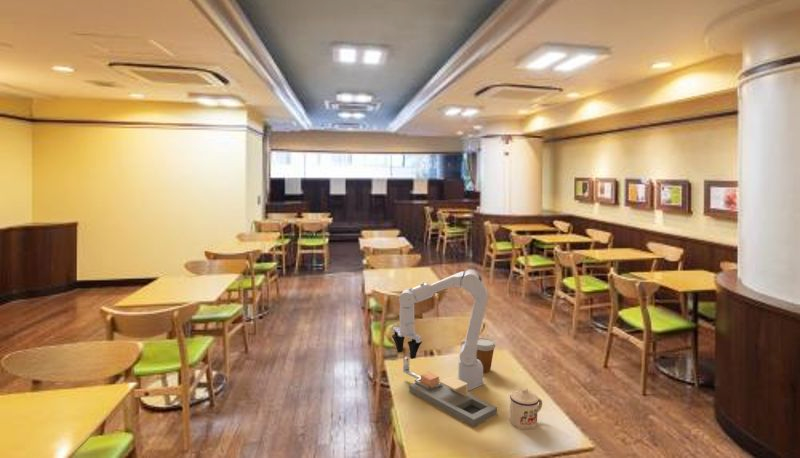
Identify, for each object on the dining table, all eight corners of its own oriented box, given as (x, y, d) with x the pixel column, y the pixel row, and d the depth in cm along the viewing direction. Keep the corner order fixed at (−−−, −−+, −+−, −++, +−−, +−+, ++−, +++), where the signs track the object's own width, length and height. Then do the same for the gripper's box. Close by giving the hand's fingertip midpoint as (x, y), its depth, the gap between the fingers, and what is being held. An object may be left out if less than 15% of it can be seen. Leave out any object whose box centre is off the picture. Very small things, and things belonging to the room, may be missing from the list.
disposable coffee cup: (494, 375, 190) (495, 347, 189) (470, 373, 192) (471, 344, 191) (494, 366, 200) (495, 338, 198) (471, 363, 202) (472, 336, 200)
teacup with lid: (521, 432, 150) (523, 398, 149) (503, 418, 158) (504, 385, 157) (550, 424, 155) (552, 390, 154) (531, 411, 163) (533, 379, 162)
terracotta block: (420, 384, 177) (420, 375, 176) (429, 380, 180) (429, 371, 179) (430, 389, 173) (430, 379, 173) (438, 385, 176) (438, 376, 176)
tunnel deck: (409, 391, 176) (409, 373, 175) (432, 382, 184) (432, 364, 183) (473, 426, 153) (474, 406, 152) (497, 414, 161) (497, 394, 160)
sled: (398, 373, 185) (398, 358, 184) (410, 369, 189) (410, 354, 188) (430, 390, 172) (430, 374, 171) (442, 385, 176) (442, 369, 175)
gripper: (386, 318, 186) (386, 351, 188) (411, 328, 175) (411, 363, 177) (400, 315, 191) (400, 347, 193) (425, 324, 180) (425, 358, 182)
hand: (406, 355), depth 185 cm, fingers open, 7 cm apart
